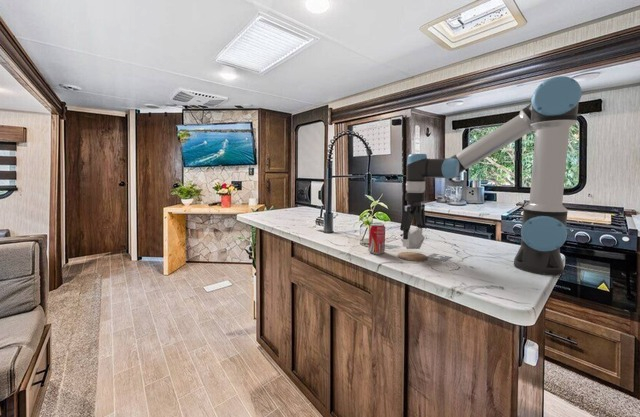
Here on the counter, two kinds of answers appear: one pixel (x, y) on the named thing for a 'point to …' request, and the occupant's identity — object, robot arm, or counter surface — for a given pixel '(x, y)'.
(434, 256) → the tile
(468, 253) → the counter surface
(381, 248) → the soda can
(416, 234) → the die
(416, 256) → the coaster
